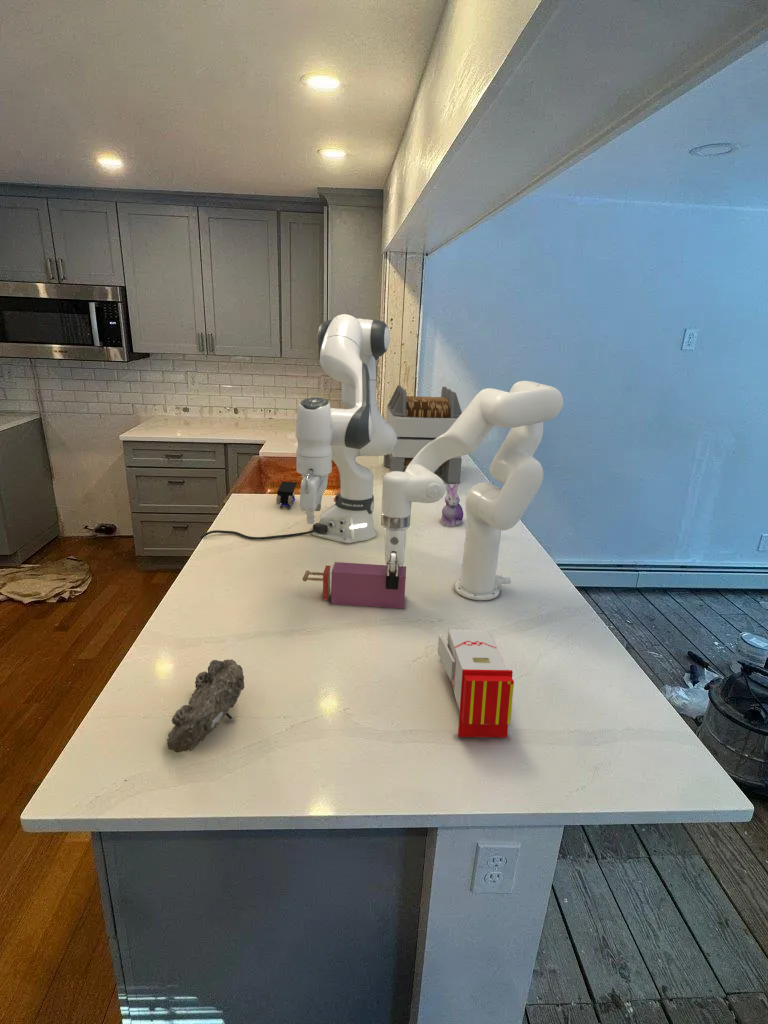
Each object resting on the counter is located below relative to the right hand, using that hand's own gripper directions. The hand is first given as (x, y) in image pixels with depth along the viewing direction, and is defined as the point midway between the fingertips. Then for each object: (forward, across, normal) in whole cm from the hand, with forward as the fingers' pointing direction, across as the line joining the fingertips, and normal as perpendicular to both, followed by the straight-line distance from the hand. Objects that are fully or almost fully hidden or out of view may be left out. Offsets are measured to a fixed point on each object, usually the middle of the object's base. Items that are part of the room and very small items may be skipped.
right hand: (392, 582), depth 151 cm
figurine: (+6, +64, -20) cm, 67 cm away
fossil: (+6, -49, +32) cm, 59 cm away
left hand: (-17, 0, +21) cm, 27 cm away
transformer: (+6, +130, -8) cm, 130 cm away
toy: (+6, -36, -18) cm, 41 cm away
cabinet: (+6, 0, +6) cm, 9 cm away
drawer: (+5, 0, +12) cm, 13 cm away
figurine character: (+6, +73, +44) cm, 86 cm away
